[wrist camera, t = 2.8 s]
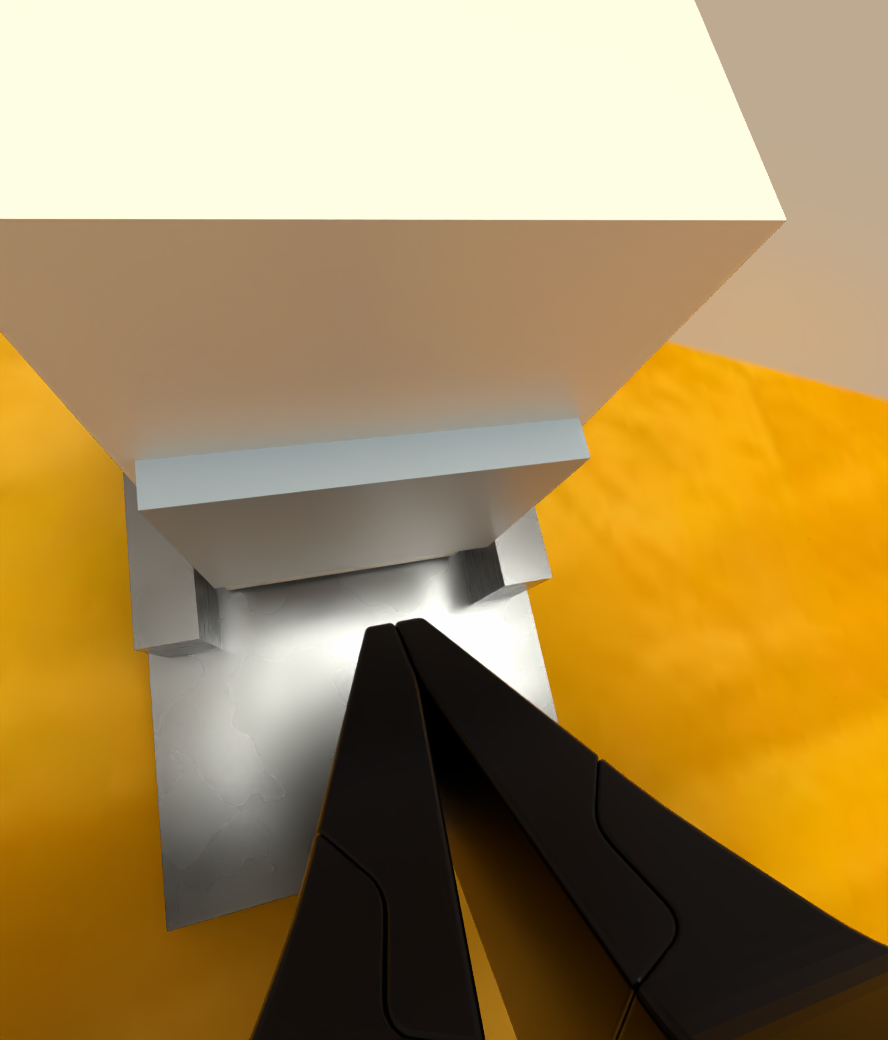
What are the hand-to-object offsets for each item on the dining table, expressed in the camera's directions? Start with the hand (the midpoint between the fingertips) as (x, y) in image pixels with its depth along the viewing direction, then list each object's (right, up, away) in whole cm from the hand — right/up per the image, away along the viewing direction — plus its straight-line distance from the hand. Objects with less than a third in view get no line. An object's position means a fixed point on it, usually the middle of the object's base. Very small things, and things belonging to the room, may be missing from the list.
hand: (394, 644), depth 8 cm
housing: (-2, 0, +8) cm, 8 cm away
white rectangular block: (-2, +2, +7) cm, 8 cm away
